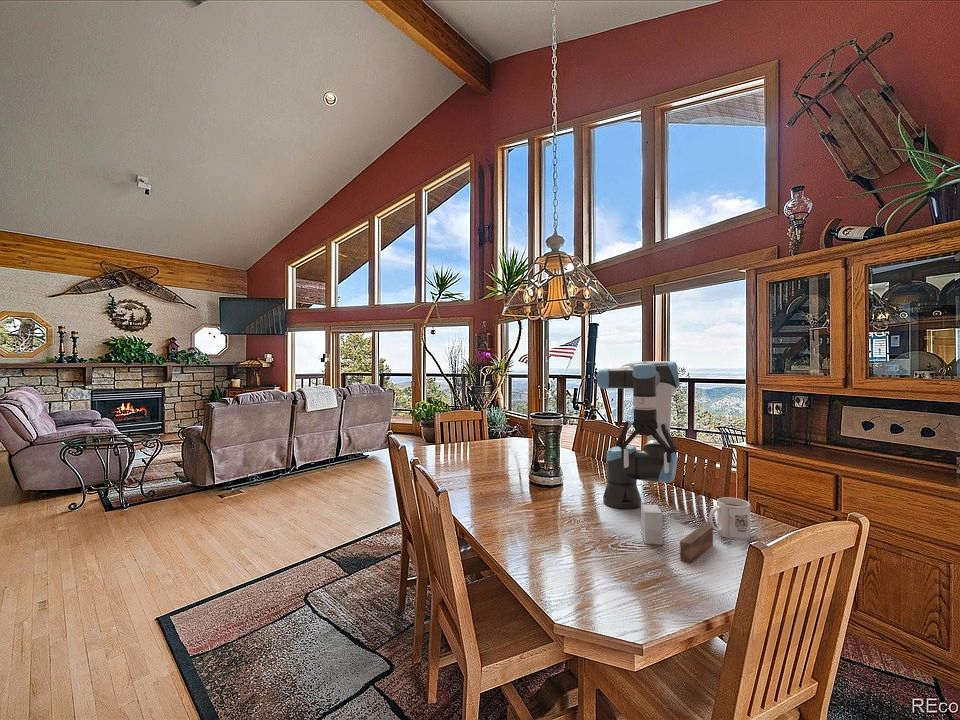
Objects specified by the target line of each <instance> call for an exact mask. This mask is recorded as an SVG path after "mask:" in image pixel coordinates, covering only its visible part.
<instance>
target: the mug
mask: <svg viewBox="0 0 960 720" xmlns="http://www.w3.org/2000/svg"><path fill="white" fill-rule="evenodd" d="M715 513H717V515H716V521H717V522H716V523H717V527H716V526H715V524H714V515H715ZM708 523H709V526H713V530H715V531H716V532H717V534H719V535H720V536H722V537H724V538H727V539H730V540H736V541H745V539H746V540H749V539H750V538H751V537H752V536H751V535H752V533H751V527H752V526H751V525H752V523H751V503H750V502H749V501H747V500H744V499H742V498H738V497H730V496H728V497H719V498H717V500H716V506H713V508H711V509H710V512H709V514H708Z"/></svg>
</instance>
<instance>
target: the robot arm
mask: <svg viewBox="0 0 960 720" xmlns="http://www.w3.org/2000/svg"><path fill="white" fill-rule="evenodd" d="M596 385H597V386H598V388H599V389H606V390H607V389H629V390H630V389H631V390H632V391H633V396H632V397H633V400H632V402H633V403H632V404H633V411H632V412H633V421H630V420H625V421H624V423H623V424H624V426H623V429H622V431H621V433H620V434H619V437H618V438H617V441H616V443H615V446H613V447H611V448H609V449H608V450H607V451H606V478H607V479H606V480H607V481H606V482H607V483H606V487H605V489H604V492H603V495H602V501H603V502H602V503H604V504H605V506H607V507H611V508H614V509H620V510H633V509H637V508H641V504H642V502H643V501H642V497H641V494H640V492H639V488H638V484H637V483H638V482H637V481H647V482H653V483H659V484H660V483H661V484H662V483H665V484H667V483H668V484H670V483H672V482H673V481H674V479H675V477H676V474H677V468H678V454H677V453H676V452H677V451H678V447H677V446H676V443H675V441H674V440H673V438H672V436H671V425H672V424H671V422H672V421H671V420H672V398H673V397H672V395H674V394H675V393H676V391H677V389H678V388H680V387H681V386H680V385H681V384H680V377H679V370H678V365H677V362H676V361H669V360H668V361H667V360H663V361H660V360H659V361H658V360H657V361H652V360H651V361H636V362H635V361H634V362H630V363H625V364H623V365H621V366H619V367H616V368H615V367H614V368H606V367H605V368H600V369H598V370H597V373H596ZM631 427H633V428H634V431H633V432H632V433H631V434H630V435H629V436H628V437H627V438H626V435H627V433H628V431H629V430H630V428H631ZM638 435H640V436H647V440H646V443H645V444H643V446H642V450H637V448H636V446H634V445H629V444H630V443H632V441H633V440H634V439H635V438H636V437H637V436H638ZM625 438H626V440H625ZM623 441H624V442H623Z"/></svg>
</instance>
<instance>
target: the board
mask: <svg viewBox="0 0 960 720" xmlns="http://www.w3.org/2000/svg"><path fill="white" fill-rule="evenodd" d="M713 545H714V529H713V526H711V525H710V524H709V525H708V524H704V523H702V524H701V525H700V526H698V527H697V528H695V529H694V530H693V531H692V532H690V533H689V534H687V535H686V536H685V537H684V538H682V539H681V540H680V541H679V552H680V553H679V556H680V559H679V560H680V562H682V563H685V564H687V565H688V564H689V565H692V564H693V563H694V562H695V561H696V560H698V559H699V558H700V557H701V556H702V555H703V554H704V553H706V552H707V551H708V550H709V549H710V548H711V547H713Z"/></svg>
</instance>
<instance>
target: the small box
mask: <svg viewBox="0 0 960 720" xmlns="http://www.w3.org/2000/svg"><path fill="white" fill-rule="evenodd" d="M640 519H641V520H640V521H641V522H640V523H641V525H640V526H641V536H642V538H643V539H642V540H643V541H644V544H645V545H646V544H647V545H664V532H663V531H664V528H663V527H664V526H663V525H664V524H663V523H664V522H663V512H662V510H661V509H660V507H659V505H658V504H646V503H645V504H644V503H643V504H641V506H640Z"/></svg>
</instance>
